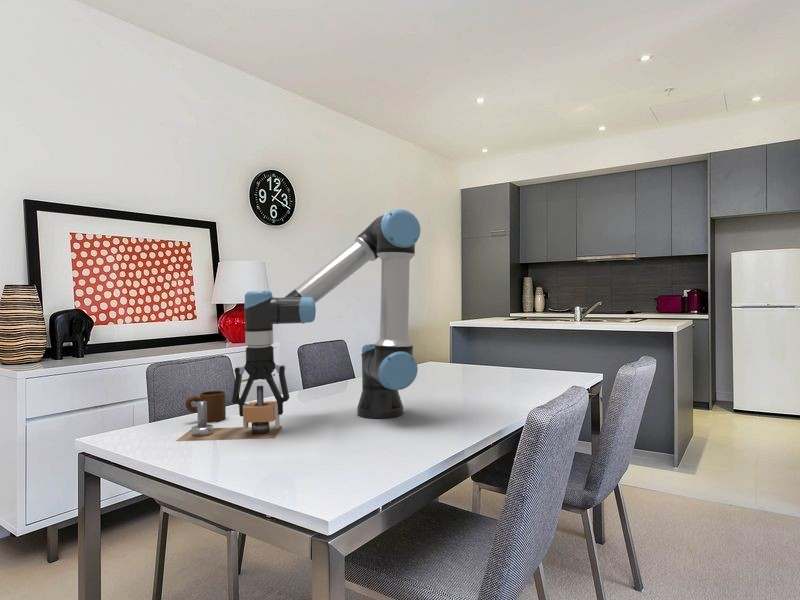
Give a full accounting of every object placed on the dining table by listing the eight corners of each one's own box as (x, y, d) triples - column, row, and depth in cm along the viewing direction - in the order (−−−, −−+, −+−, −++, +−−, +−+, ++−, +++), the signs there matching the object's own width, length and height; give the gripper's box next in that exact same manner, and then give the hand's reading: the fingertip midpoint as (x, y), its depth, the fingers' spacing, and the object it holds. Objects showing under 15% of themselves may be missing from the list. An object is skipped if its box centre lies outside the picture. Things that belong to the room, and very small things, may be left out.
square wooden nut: (278, 414, 150) (278, 401, 150) (273, 421, 142) (272, 406, 142) (250, 415, 149) (249, 402, 149) (243, 422, 141) (243, 408, 141)
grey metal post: (215, 431, 148) (215, 399, 148) (209, 436, 142) (209, 403, 142) (195, 431, 147) (195, 400, 147) (188, 437, 142) (188, 404, 142)
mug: (190, 429, 154) (189, 398, 154) (181, 425, 159) (181, 394, 159) (229, 423, 161) (229, 392, 161) (220, 418, 167) (219, 389, 167)
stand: (271, 429, 148) (270, 384, 148) (267, 434, 143) (267, 387, 143) (253, 430, 148) (253, 384, 148) (250, 434, 143) (249, 387, 143)
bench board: (282, 429, 152) (282, 426, 152) (274, 441, 139) (274, 438, 139) (192, 432, 151) (192, 428, 151) (175, 444, 138) (175, 441, 138)
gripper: (298, 343, 150) (301, 422, 150) (225, 345, 149) (227, 425, 149) (295, 346, 142) (297, 429, 143) (217, 348, 141) (220, 432, 141)
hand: (261, 427), depth 146 cm, fingers closed on square wooden nut, 8 cm apart
